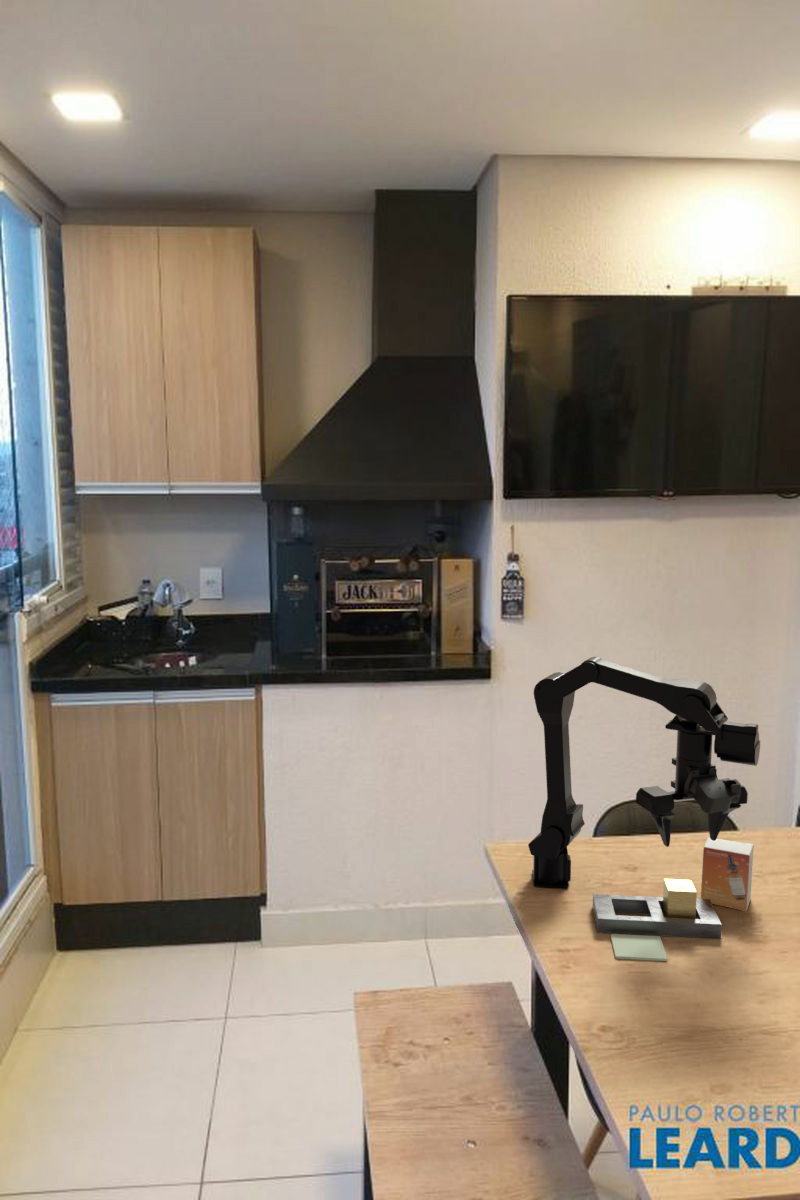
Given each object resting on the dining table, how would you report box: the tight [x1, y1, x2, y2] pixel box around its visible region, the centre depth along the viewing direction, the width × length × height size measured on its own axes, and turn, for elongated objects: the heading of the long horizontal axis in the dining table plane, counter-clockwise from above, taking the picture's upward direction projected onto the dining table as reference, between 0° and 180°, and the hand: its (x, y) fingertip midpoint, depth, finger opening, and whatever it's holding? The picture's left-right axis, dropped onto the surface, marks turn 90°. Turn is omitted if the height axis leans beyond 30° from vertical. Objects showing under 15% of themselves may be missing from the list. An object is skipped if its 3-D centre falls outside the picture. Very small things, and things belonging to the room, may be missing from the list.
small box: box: [700, 836, 755, 912], centre depth 162 cm, size 8×6×10 cm
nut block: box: [662, 878, 698, 919], centre depth 154 cm, size 5×5×7 cm
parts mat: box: [610, 933, 668, 962], centre depth 146 cm, size 8×7×1 cm
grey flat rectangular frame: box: [592, 893, 723, 940], centre depth 155 cm, size 20×9×2 cm, turn 83°
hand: (689, 842), depth 157 cm, fingers open, 9 cm apart
